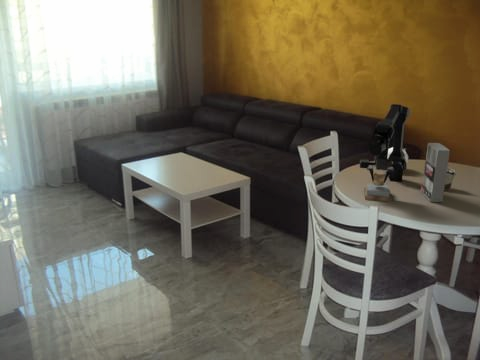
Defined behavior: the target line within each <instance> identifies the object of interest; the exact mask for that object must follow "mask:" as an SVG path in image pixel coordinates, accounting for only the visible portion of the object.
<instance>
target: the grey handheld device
mask: <svg viewBox="0 0 480 360" xmlns="http://www.w3.org/2000/svg"><path fill="white" fill-rule="evenodd" d="M450 152H451V150H450V149H448V148H447V147H446V146H445V145H443V144H442V143H440V142H428V143H427V149H426V158H425V163H424V171H423V179H422V183H421V184H420V190H419V192H420V193H421V194H422V195H423V196H424V198H426V200H428V201H429V203H443V202H444V194H445V193H444V192H445V190H444V187H445V180H446V174H447V168H449V167H448V165H449V159H450V158H449V157H450V154H451V153H450Z"/></svg>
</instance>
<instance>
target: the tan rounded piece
mask: <svg viewBox="0 0 480 360" xmlns="http://www.w3.org/2000/svg"><path fill="white" fill-rule="evenodd" d="M373 176H374V180H373V182H372V184H374V185H376V186H383V185H385V183H384V179H385V173H383V172H373Z"/></svg>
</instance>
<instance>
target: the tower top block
mask: <svg viewBox="0 0 480 360" xmlns="http://www.w3.org/2000/svg"><path fill="white" fill-rule="evenodd" d="M366 188H367V195H373V196H383V197H389V190H390V185H389V184H384V185H383V186H376V185H374V184H373V183H367V187H366Z"/></svg>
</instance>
